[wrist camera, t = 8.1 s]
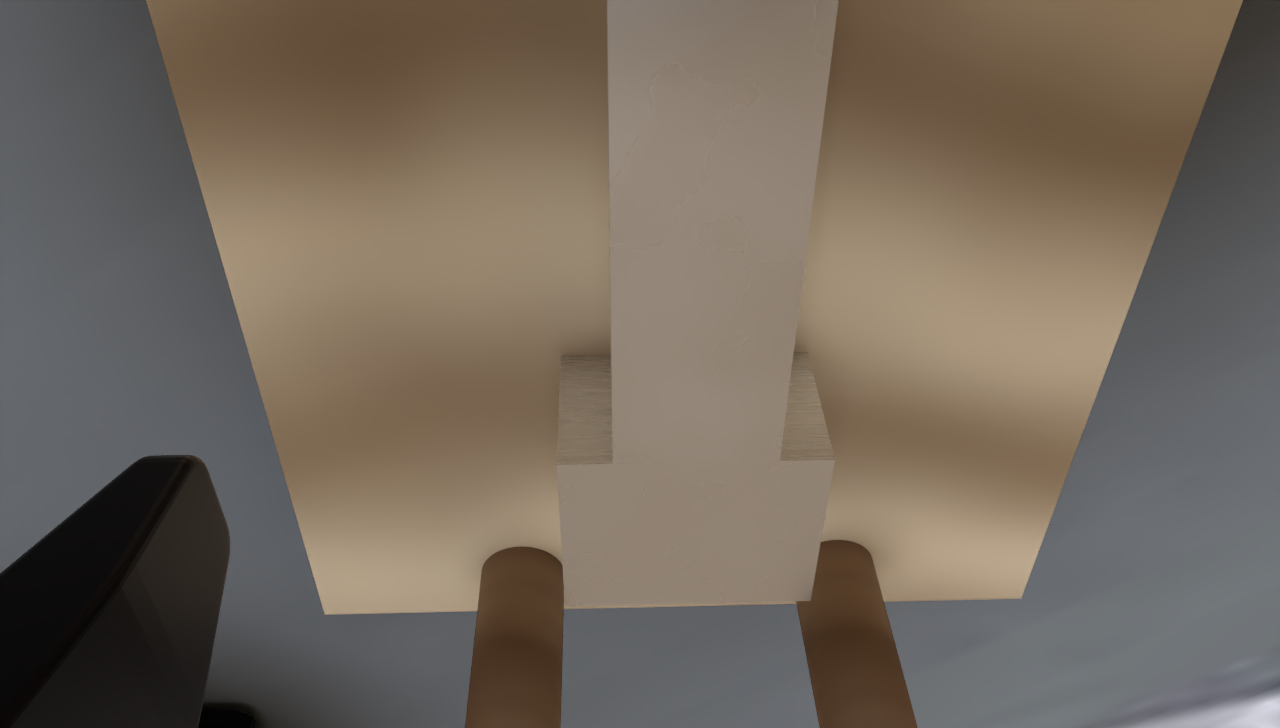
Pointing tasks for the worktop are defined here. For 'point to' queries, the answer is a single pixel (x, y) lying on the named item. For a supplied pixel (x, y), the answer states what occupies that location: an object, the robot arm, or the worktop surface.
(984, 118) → the peg board
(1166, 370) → the worktop surface
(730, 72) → the beige stepped post
